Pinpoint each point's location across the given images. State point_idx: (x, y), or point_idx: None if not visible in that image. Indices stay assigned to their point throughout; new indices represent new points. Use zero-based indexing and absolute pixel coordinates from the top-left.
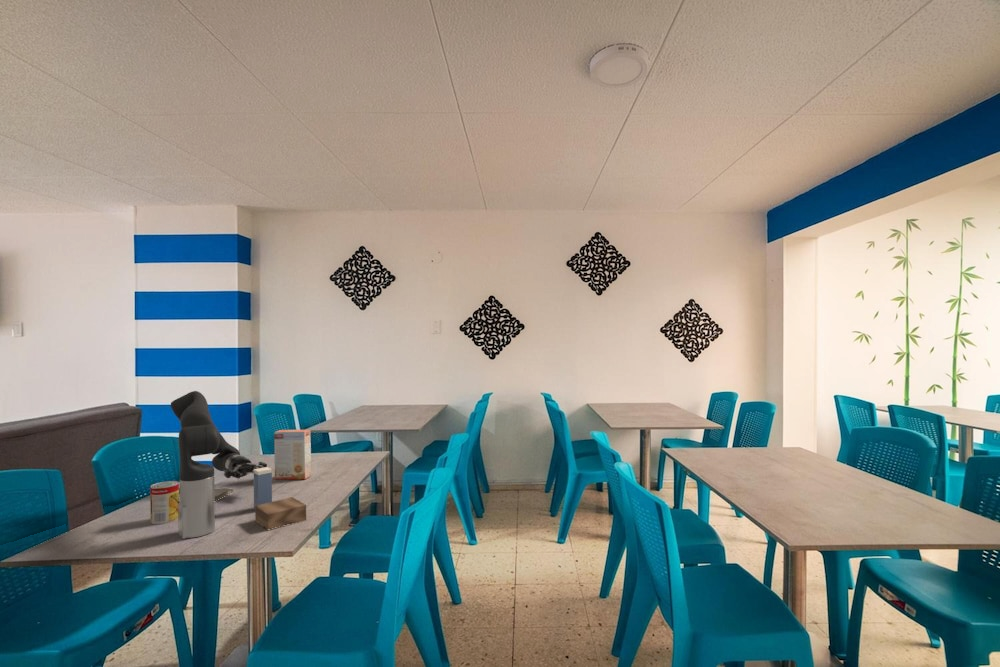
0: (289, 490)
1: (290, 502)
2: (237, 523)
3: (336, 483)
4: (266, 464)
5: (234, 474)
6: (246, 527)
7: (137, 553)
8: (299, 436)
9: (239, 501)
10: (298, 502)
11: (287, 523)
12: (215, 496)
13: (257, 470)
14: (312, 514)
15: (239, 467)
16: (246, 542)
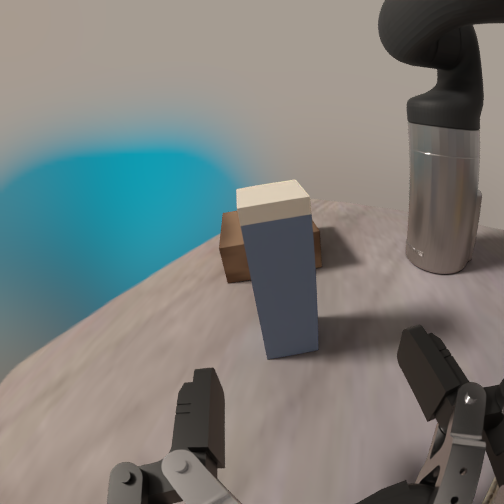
0: None
1: (240, 226)
2: (362, 268)
3: (6, 411)
4: (121, 463)
5: (448, 360)
6: (340, 247)
7: (485, 226)
8: None
9: (371, 476)
10: (226, 223)
11: None
12: (492, 502)
13: (294, 186)
14: (204, 257)
15: (440, 479)
16: (337, 212)
